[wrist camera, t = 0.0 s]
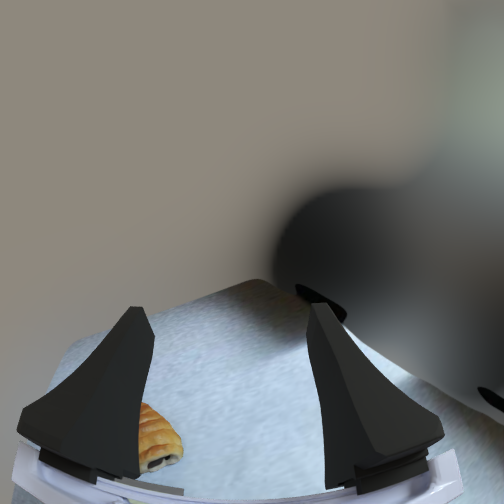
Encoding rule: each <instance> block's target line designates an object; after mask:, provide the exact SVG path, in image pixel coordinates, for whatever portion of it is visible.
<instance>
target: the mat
mask: <svg viewBox="0 0 504 504" xmlns="http://www.w3.org/2000/svg"><path fill="white" fill-rule="evenodd" d="M114 481H115V482H118V483H122V484H126V485H129V486H133V487H137V488H142V489H146V490H151V491H156V492H161V493H167V494H172V495H178V496H183V493H184V489H182V488H175V487H168V486H162V485H157V484H151V483H147V482H142V481H137V480H133V479H129V478H125V477H122V480H120V479H117V478H115V480H114Z"/></svg>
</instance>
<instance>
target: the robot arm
mask: <svg viewBox="0 0 504 504" xmlns="http://www.w3.org/2000/svg"><path fill="white" fill-rule="evenodd" d="M306 338H307V346H308V354H309V359H310V363H311V367H312V371H313V375H314V379H315V384H316V388H317V392H318V396H319V401H320V407H321V416H322V426H323V438H324V456H325V488H326V490H328V489H333V488H338V487H343V486H344V488H345V489H342V490H337V491H332V492H327V493H321V494H315V495H308V496H301V497H292V498H282V499H267V500H219V499H204V498H194V497H185V496H178V495H171V494H165V493H159V492H154V491H149V490H145V489H140V488H136V487H132V486H128V485H124V484H121V483H117V482H114V480H115V478H117V479H120V480H122V477H126V478H130V479H134V480H135V479H137V478H139V477H140V466H139V421H140V410H141V402H142V397H143V392H144V388H145V384H146V380H147V376H148V372H149V368H150V364H151V360H152V355H153V348H154V340H155V335H154V333H153V331H152V328H151V326H150V324H149V321H148V319H147V317H146V314H145V312H144V309H143V307H131V306H130V307H129V309H128V310H127V311H126V312H125V313H124V315H123V316H122V317H121V318H120V320H119V321H118V322H117V323H116V325H115V326H114V327H113V328H112V330H111V331H110V332H109V333H108V334H107V336H106V337H105V338H104V339H103V341H102V342H101V343H100V344H99V345H98V347H97V348H96V349H95V350H94V351H93V352H92V353H91V355H90V356H89V357H88V358H87V359H86V360H85V361H84V362H83V363H82V364H81V365H80V366H79V367H78V368H77V369H76V370H75V371H74V372H73V373H72V374H71V375H70V376H69V377H67V378H66V379H65V380H64V381H63V382H61V383H60V384H59V385H58V386H57V387H55V388H54V389H53V390H51V391H50V392H49V393H47V394H46V395H44V396H43V397H41V398H40V399H38V400H37V401H35V402H33V403H32V404H30V405H28V406H26V407H25V408H23V410H22V413H21V416H20V420H19V423H18V426H17V432H18V433H19V434H21V435H22V436H23V437H25V438H27V439H28V440H30V441H31V442H33V443H35V444H36V445H38V446H40V447H41V450H40V451H38V450H37V449H35V448H33V447H31V446H29V445H27V444H26V443H24V442H22V441H19V445H18V449H17V453H16V457H15V462H14V467H13V472H12V478H11V480H12V481H13V482H14V483H16V484H17V485H19V486H20V487H21V488H23V489H24V490H26V491H27V492H29V493H30V494H32V495H33V496H34V497H36V498H37V499H39V500H40V501H41V502H43V503H44V504H132V503H130V502H129V500H128V499H132V500H136V501H140V502H144V503H149V504H447V503H448V502H450V501H452V500H453V499H455V498H457V497H458V496H460V495H462V494H463V493H464V489H463V484H462V479H461V475H460V471H459V466H458V462H457V459H456V455H455V451H454V449H451V450H449V451H447V452H445V453H443V454H441V455H439V456H436V457H434V458H432V459H430V460H428V461H427V460H426V456H427V455H428V454H429V453H428V449H427V448H428V447H430V446H431V445H433V444H435V443H436V442H438V441H440V440H441V439H442V438H444V436H445V434H444V430H443V427H442V423H441V421H440V419H439V417H438V416H437V415H435V414H434V413H432V412H430V411H429V410H427V409H425V408H424V407H422V406H421V405H419V404H418V403H416V402H415V401H414V400H412V399H411V398H409V397H408V396H407V395H406V394H405V393H403V392H402V391H401V390H400V389H398V388H397V387H396V386H395V385H394V384H392V383H391V382H390V381H389V380H388V379H387V378H386V377H385V376H384V375H383V374H382V373H381V372H380V371H379V370H378V369H377V368H376V367H375V366H374V365H373V364H372V363H371V362H370V360H369V359H368V358H367V357H366V356H365V355H364V354H363V352H362V351H361V350H360V349H359V347H358V346H357V345H356V344H355V342H354V341H353V340H352V338H351V337H350V336H349V335H348V333H347V332H346V331H345V329H344V328H343V326H342V325H341V323H340V322H339V321H338V319H337V318H336V316H335V315H334V313H333V312H332V310H331V309H330V307H329V306H328V304H327V303H313V304H312V305H311V311H310V316H309V321H308V327H307V332H306ZM127 498H128V499H127Z"/></svg>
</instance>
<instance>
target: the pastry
mask: <svg viewBox="0 0 504 504" xmlns="http://www.w3.org/2000/svg"><path fill="white" fill-rule="evenodd" d="M182 457H183V447H182V443H181V438H180V436H179V435H178V434H177V433H176V432H175V430H174V429H173V428H172V426H171V425H170V423H169V422H168V421H166V420H165V418H164V417H163V416H161V415H160V414H159V413H158V412H156V411H155V410H153V409H152V408H151V407H150V406H149V405H148V404H146V403H143V402H141V410H140V421H139V466H140V473H142V474H143V473H147V472H155V471H158V470H159V469H161V468H163V467H164V466H166V465H171V464H174V463H176V462H178V461H180V459H181V458H182Z"/></svg>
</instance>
